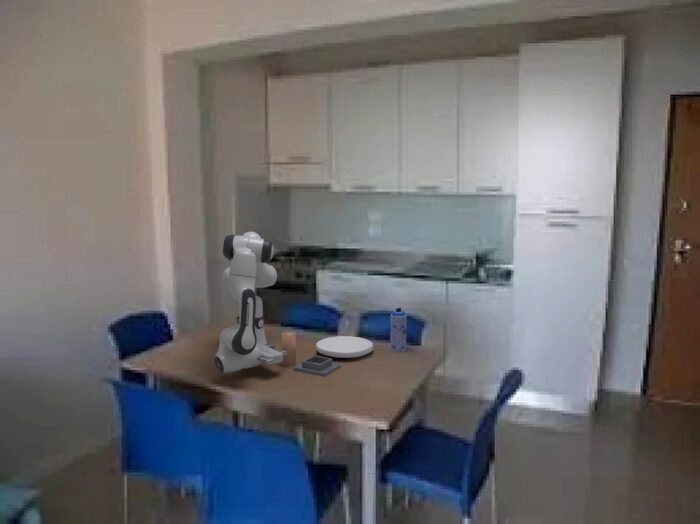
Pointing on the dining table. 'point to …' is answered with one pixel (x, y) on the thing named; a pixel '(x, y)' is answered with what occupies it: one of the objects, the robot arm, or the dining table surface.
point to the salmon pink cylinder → (289, 348)
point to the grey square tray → (317, 366)
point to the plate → (344, 346)
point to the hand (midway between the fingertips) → (280, 349)
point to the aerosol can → (398, 331)
